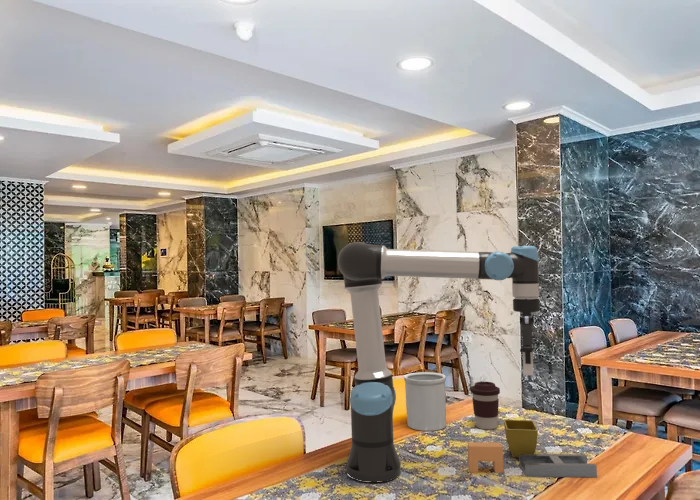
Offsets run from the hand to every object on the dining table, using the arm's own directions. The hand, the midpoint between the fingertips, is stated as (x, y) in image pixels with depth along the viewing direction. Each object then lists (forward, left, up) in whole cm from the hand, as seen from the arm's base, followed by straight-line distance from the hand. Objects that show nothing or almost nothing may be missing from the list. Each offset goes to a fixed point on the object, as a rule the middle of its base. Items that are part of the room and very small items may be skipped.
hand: (528, 370), depth 146 cm
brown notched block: (-15, -10, -25) cm, 31 cm away
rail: (+4, -10, -25) cm, 27 cm away
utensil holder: (-29, +30, -26) cm, 49 cm away
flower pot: (-3, +2, -26) cm, 26 cm away
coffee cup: (-8, +28, -26) cm, 39 cm away
